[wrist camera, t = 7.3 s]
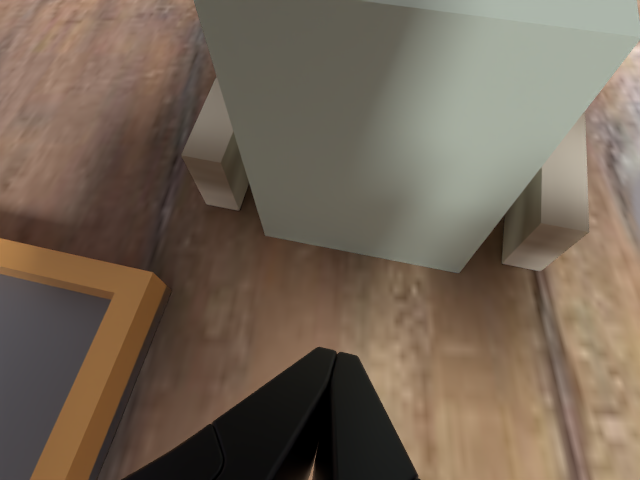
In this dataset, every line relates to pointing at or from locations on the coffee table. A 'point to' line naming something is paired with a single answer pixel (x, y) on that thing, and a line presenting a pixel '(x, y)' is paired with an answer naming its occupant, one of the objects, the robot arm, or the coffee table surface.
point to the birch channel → (520, 220)
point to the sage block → (405, 111)
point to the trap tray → (68, 357)
